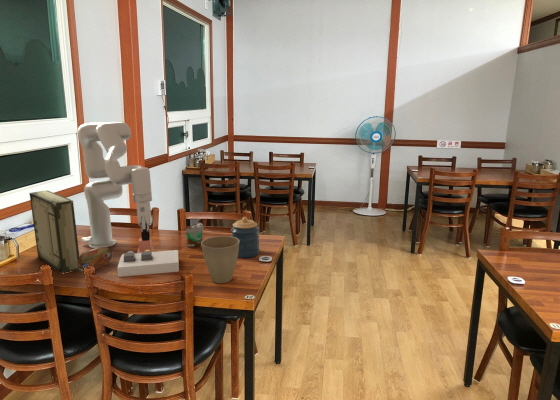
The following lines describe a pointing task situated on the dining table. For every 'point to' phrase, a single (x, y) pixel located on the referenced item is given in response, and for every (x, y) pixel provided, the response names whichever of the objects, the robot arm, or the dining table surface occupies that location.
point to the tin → (95, 258)
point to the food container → (194, 235)
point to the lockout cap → (145, 246)
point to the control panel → (55, 230)
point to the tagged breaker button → (146, 255)
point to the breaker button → (129, 257)
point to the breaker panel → (150, 264)
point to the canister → (246, 237)
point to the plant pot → (220, 257)
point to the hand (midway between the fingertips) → (146, 240)
